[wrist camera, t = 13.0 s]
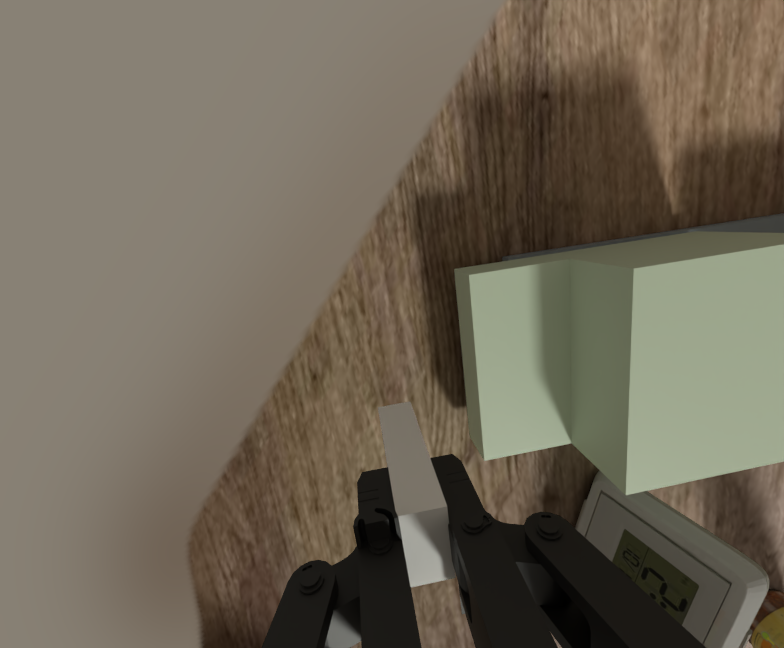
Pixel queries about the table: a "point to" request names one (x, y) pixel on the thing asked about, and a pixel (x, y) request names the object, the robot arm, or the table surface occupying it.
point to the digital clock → (676, 563)
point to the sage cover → (631, 355)
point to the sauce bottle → (769, 622)
